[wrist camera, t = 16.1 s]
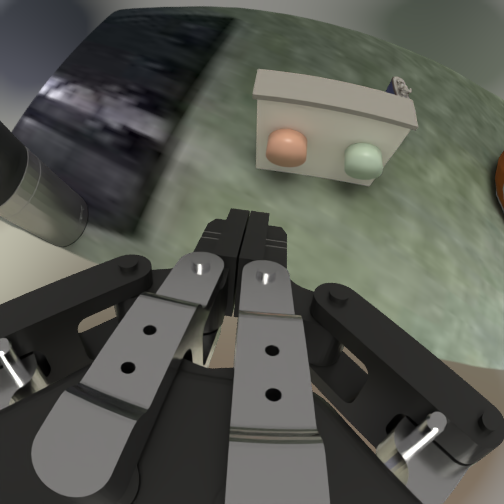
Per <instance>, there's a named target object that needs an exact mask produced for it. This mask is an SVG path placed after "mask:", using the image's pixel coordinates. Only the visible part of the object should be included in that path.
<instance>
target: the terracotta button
mask: <svg viewBox="0 0 504 504" xmlns="http://www.w3.org/2000/svg"><path fill="white" fill-rule="evenodd" d="M306 156H307V139H306V137H305V136H304V135H303V134H301V133H300V132H298V131H295V130H291V129H279V130H276V131H273V132H272V133H271V134H270V135H269V136H268V142H267V149H266V158H267V159H268V160H269V161H270V162H271V163H273V164H275V165H278V166H282V167H297V166H300V165H302V164H303V163H305V161H306Z"/></svg>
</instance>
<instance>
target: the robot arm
mask: <svg viewBox="0 0 504 504" xmlns="http://www.w3.org/2000/svg"><path fill="white" fill-rule="evenodd" d="M249 215H250V217H249ZM0 216H1V217H3V218H5V219H6V220H8V221H10V222H12V223H14V224H15V225H17V226H19V227H21V228H23V229H25V230H26V231H28V232H30V233H32V234H34V235H36V236H38V237H40V238H41V239H43V240H45V241H47V242H49V243H51V244H53V245H55V246H59V247H64V246H67V245H70V244H71V243H73V242H74V241H76V240H77V239H78V238H79V236H80V235H81V234H82V232H83V230H84V229H85V226H86V223H87V219H88V209H87V205H86V203H85V201H84V200H83V198H81V197H80V196H79V195H78V194H77V193H76V192H75V191H73V190H72V189H71V188H70V187H69V186H68V185H67V184H66V183H64V182H63V181H62V180H61V179H60V178H59V177H58V176H57V175H56V174H55V173H53V172H52V171H51V170H50V169H49V168H48V167H47V166H46V165H45V164H44V163H43V162H41V161H40V160H39V159H38V158H37V157H36V156H35V155H34V154H33V153H32V152H31V151H30V150H29V149H27V148H26V147H25V146H24V145H23V144H22V143H21V142H20V141H19V140H18V139H17V138H16V137H15V136H14V135H13V134H12V133H11V132H10V130H8V128H7V127H6V126H5V125H3V123H2V122H1V121H0ZM268 221H269V213H264V212H256V211H251V213H250V211H248V210H240V209H232V208H231V210H230V212H229V214H228V217H227V219H226V220H222V219H215V220H213V221H212V222H210V223H208V225H207V227H206V228H205V230H204V232H203V234H202V237H201V238H200V240H199V242H198V244H197V246H196V248H195V250H194V252H192V253H189V254H186V255H184V256H182V257H181V258H180V259H179V261H178V262H177V263H176V265H175V266H174V268H171V269H159V270H152V267H151V262H150V261H149V260H148V259H147V258H145V257H143V256H140V255H124V256H120V257H117V258H115V259H112V260H109V261H107V262H104V263H102V264H99V265H96V266H94V267H91V268H89V269H86V270H83V271H81V272H78V273H76V274H73V275H71V276H68V277H66V278H63V279H61V280H58V281H56V282H54V283H51V284H48V285H46V286H44V287H41V288H39V289H36V290H34V291H31V292H29V293H26V294H24V295H22V296H20V297H17V298H15V299H12V300H10V301H8V302H5V303H3V304H1V305H0V504H443V503H444V502H445V500H446V499H447V498H448V496H449V495H450V494H451V493H452V491H453V490H454V489H455V487H456V486H457V484H458V483H459V482H460V480H461V479H462V477H463V476H464V474H465V473H466V471H467V470H468V468H469V467H471V466H472V465H474V464H475V463H476V462H478V461H479V460H481V459H482V458H483V457H485V456H486V455H487V454H489V453H490V452H491V451H492V450H494V449H495V448H496V447H497V446H499V445H500V444H501V443H502V441H503V439H504V418H503V416H502V414H501V413H500V412H499V410H498V409H497V408H496V407H495V406H494V405H492V404H491V403H490V402H489V401H488V400H487V399H486V398H484V397H483V396H482V395H481V394H480V393H479V392H477V391H476V390H475V389H474V388H473V387H472V386H470V385H469V384H468V383H467V382H466V381H464V380H463V379H462V378H461V377H460V376H459V375H457V374H456V373H455V372H454V371H453V370H451V369H450V368H449V367H448V366H447V365H445V364H444V363H443V362H442V361H441V360H440V359H438V358H437V357H436V356H435V355H434V354H432V353H431V352H430V351H429V350H427V349H426V348H425V347H424V346H423V345H421V344H420V343H419V342H418V341H416V340H415V339H414V338H413V337H412V336H410V335H409V334H408V333H407V332H405V331H404V330H403V329H402V328H400V327H399V326H398V325H397V324H395V323H394V322H393V321H392V320H390V319H389V318H388V317H387V316H385V315H384V314H383V313H382V312H380V311H379V310H378V309H377V308H375V307H374V306H373V305H371V304H370V303H369V302H368V301H366V300H365V299H364V298H363V297H361V296H360V295H359V294H357V293H356V292H355V291H354V290H352V289H351V288H349V287H347V286H344V285H341V284H337V283H325V284H322V285H320V286H318V287H317V288H316V289H315V291H314V292H313V291H310V290H307V289H305V288H302V287H300V286H298V285H297V284H295V283H294V282H293V281H292V280H291V279H290V275H289V272H288V270H287V234H286V233H285V231H284V230H283V229H282V227H276V226H269V225H268ZM234 304H235V308H234ZM113 305H114V308H115V312H116V316H117V317H115V318H113V319H111V320H109V321H106V322H104V323H102V324H100V325H98V326H95V327H93V328H91V329H89V330H87V331H84V332H82V333H78V325H79V323H80V322H81V321H82V320H83V319H85V318H86V317H89V316H91V315H93V314H95V313H98V312H100V311H102V310H104V309H107V308H109V307H111V306H113ZM233 309H234V317H238V322H237V333H236V344H235V355H234V367H233V368H217V369H216V368H215V369H211V368H208V366H209V363H210V360H211V358H212V355H213V352H214V349H215V346H216V344H217V341H218V338H219V335H220V332H221V325H222V323H223V319H224V315H226V316H232V313H233ZM344 346H345V347H346V348H347V349H348V350H349V351H351V352H352V353H353V354H354V355H355V356H356V357H357V358H358V359H359V360H360V361H361V362H362V363H363V364H364V365H365V366H366V368H367V370H368V374H367V373H366V372H365V371H363V370H362V369H361V368H360V367H359V366H358V365H357V364H356V363H355V362H354V361H353V360H352V359H351V358H350V357H348V356H347V355H346V354H345V353H344V352H343V351H342V350H343V348H344ZM311 382H312V383H313V384H314V385H315V386H316V387H317V388H318V390H320V392H321V393H322V394H323V395H324V396H325V397H326V398H327V399H328V400H329V401H330V402H331V403H332V404H333V405H334V406H335V407H336V408H337V409H338V411H339V412H340V413H341V414H342V415H343V416H344V417H345V418H346V419H347V420H348V421H349V422H350V423H351V424H352V425H353V426H354V427H355V428H356V429H357V430H358V431H359V432H360V433H361V434H362V435H363V436H364V437H365V438H366V439H367V440H368V441H369V442H370V443H371V444H372V445H373V446H374V447H375V448H376V449H377V450H376V454H375V453H374V452H373V451H372V450H371V449H370V448H369V447H368V446H367V445H366V444H365V442H364V441H363V440H362V439H361V438H360V437H359V436H358V435H357V434H356V433H355V432H354V431H353V429H352V428H351V427H350V426H349V425H348V424H347V423H346V422H345V421H344V419H343V418H342V417H341V416H340V415H339V414H338V413H337V412H336V410H335V409H334V408H333V407H332V406H331V405H330V404H329V403H328V402H326V401H325V400H324V399H323V398H322V397H320V396H319V395H317V394H316V393H314V392H312V386H311Z"/></svg>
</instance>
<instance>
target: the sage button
mask: <svg viewBox="0 0 504 504" xmlns="http://www.w3.org/2000/svg"><path fill="white" fill-rule="evenodd" d="M344 170H345V173H346V174H347V175H348V176H350V177H352V178H355V179H360V180H370V179H374V178H377V177H379V176H380V175H381V174H382V172H383V164H382V152H381V150H380V149H379V148H378V147H376V146H374V145H372V144H367V143H355V144H353V145H351V146H349V147H347V148H346V150H345V153H344Z"/></svg>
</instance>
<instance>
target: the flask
mask: <svg viewBox="0 0 504 504" xmlns="http://www.w3.org/2000/svg"><path fill="white" fill-rule="evenodd" d="M411 90H412V89H411V88H410V90H409V89H408V87H407V86H406V84H405V82H404V80H402V79H401V78H400V77H393V78H392V80H391V82H390V84H389V86H388V88H387V90H386V92H387V93H391V94H394V95H397V96H401V97H404V98H407V99H409V96H408V94H409V93H411V92H412V91H411ZM408 92H409V93H408ZM414 109H415V108H414ZM415 113H416V111H415Z"/></svg>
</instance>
